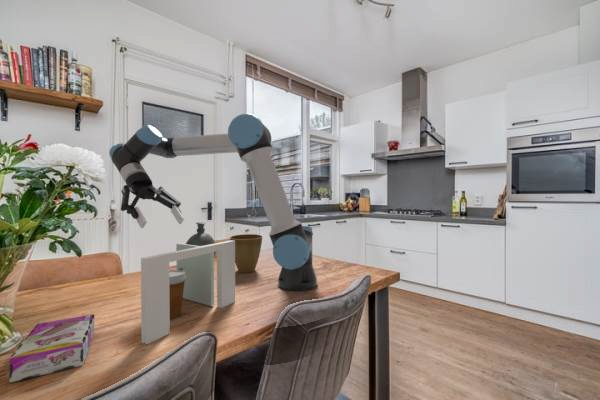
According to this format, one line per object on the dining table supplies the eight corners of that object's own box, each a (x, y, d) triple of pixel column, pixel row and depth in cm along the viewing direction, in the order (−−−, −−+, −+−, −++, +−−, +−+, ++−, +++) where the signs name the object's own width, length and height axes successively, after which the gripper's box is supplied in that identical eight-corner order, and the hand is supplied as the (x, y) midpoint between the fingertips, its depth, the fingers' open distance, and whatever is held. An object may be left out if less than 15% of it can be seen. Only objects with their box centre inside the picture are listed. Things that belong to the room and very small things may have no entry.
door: (216, 304, 88) (215, 247, 88) (209, 307, 86) (208, 249, 85) (181, 294, 97) (181, 242, 96) (174, 296, 94) (174, 244, 94)
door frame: (230, 300, 92) (230, 240, 92) (235, 301, 91) (235, 240, 91) (141, 342, 66) (140, 258, 65) (146, 344, 65) (146, 259, 64)
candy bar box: (94, 312, 71) (84, 342, 56) (94, 331, 71) (84, 366, 57) (35, 322, 65) (7, 358, 51) (35, 343, 65) (8, 385, 51)
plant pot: (232, 267, 135) (231, 234, 135) (262, 266, 137) (262, 233, 136) (227, 275, 120) (227, 239, 120) (262, 274, 122) (262, 238, 122)
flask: (222, 267, 135) (222, 222, 134) (187, 274, 123) (187, 224, 123) (212, 263, 143) (211, 220, 143) (178, 269, 131) (177, 222, 131)
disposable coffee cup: (170, 323, 75) (171, 279, 75) (142, 319, 77) (142, 276, 77) (193, 310, 84) (193, 270, 84) (166, 307, 86) (167, 268, 87)
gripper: (164, 187, 110) (190, 227, 103) (92, 185, 88) (119, 235, 81) (172, 173, 108) (200, 213, 101) (101, 167, 86) (130, 218, 79)
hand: (164, 223), depth 91 cm, fingers open, 13 cm apart
